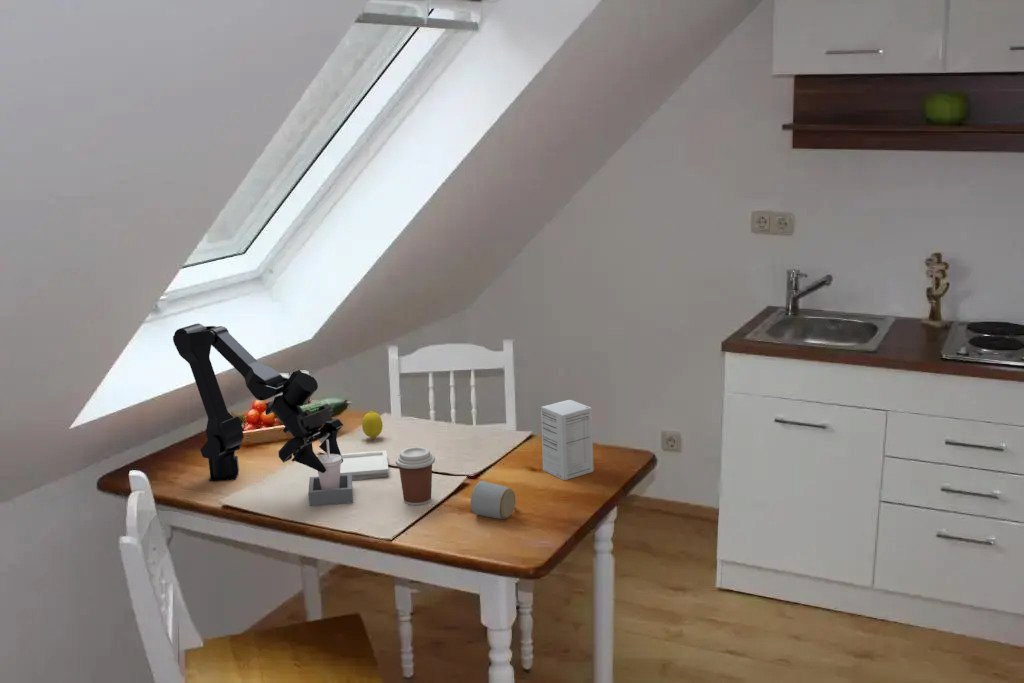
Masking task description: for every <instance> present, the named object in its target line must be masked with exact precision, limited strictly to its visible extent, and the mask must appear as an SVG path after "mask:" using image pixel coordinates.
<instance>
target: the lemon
mask: <svg viewBox="0 0 1024 683" xmlns="http://www.w3.org/2000/svg"><path fill="white" fill-rule="evenodd" d="M361 424H362V425H361V426H362V432H363V433H364V435H365V436H367V437H368V438H371V439H372V440H375V438H377V437H379V435H380V434H381V433H382V431H383V420H382V418H381V416H380V415H379V414H378V413H377V412H375V411H373V410H370V411H369V412H367V413H366V414H365V415H364V416H363V418H362V423H361Z"/></svg>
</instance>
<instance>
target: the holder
mask: <svg viewBox="0 0 1024 683" xmlns="http://www.w3.org/2000/svg"><path fill="white" fill-rule="evenodd" d="M308 479H309V480H308V482H309V483H308V492H307V493H308V504H309V507H310V506H311V507H321V506H330V505H331V506H332V505H342V504H343V505H344V504H352V503H354V497H353V496H354V493H353V492H354V491H353V487H354V486H353V480H352V474H341V475H340V485H339V488H337V489H326V490H322V489H321V484H320V480H319V475H318V476H310V477H309V478H308ZM311 507H310V508H311Z"/></svg>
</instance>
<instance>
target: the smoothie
mask: <svg viewBox="0 0 1024 683" xmlns="http://www.w3.org/2000/svg"><path fill="white" fill-rule="evenodd" d="M326 443H327V453H325V454H320V455H317V457H318V459H319V460H320V461H321V463H322V464H323V466H324V467H325V469H326V471H325V473H321V472H319V471H317V474H318V476H319V480H320V484H321V489H322V490H326V489H337V488H339V485H340V467H341V462H342V457H341V456H340V455H338V454H330V451H329V440H328V439H327V440H326Z"/></svg>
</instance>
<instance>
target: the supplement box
mask: <svg viewBox="0 0 1024 683" xmlns="http://www.w3.org/2000/svg"><path fill="white" fill-rule="evenodd" d="M540 419H541V447H542V448H541V449H542V451H541V452H542V471H543V472H546V473H548V474H550V475H552V476H554V477H556V478H559V479H561V480H562V481H567V480H570V479H574V478H577V477H580V476H584V475H586V474H590V473H593V472H594V447H593V446H594V443H593V442H594V440H593V408H592V407H591V406H588V405H585V404H583V403H580V402H578V401H576V400H573V399H567V400H563V401H559V402H554V403H551V404H547V405H543V406H541V407H540Z"/></svg>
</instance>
